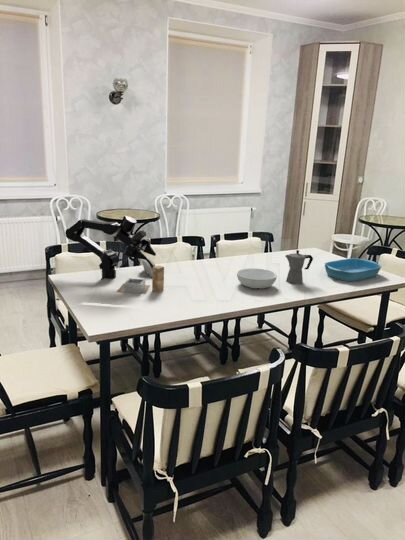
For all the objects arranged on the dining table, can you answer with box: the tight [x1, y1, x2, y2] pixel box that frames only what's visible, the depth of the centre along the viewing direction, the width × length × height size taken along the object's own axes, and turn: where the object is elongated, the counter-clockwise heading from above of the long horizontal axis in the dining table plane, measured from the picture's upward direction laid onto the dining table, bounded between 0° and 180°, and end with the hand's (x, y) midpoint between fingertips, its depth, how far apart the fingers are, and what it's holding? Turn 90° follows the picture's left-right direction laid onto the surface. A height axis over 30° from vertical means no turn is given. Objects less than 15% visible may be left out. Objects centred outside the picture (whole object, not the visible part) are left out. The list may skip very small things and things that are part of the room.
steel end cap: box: [123, 278, 146, 295], centre depth 215 cm, size 8×8×4 cm
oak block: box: [151, 265, 165, 293], centre depth 215 cm, size 4×4×13 cm
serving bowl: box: [236, 267, 278, 289], centre depth 234 cm, size 21×21×7 cm
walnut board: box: [116, 283, 151, 295], centre depth 218 cm, size 14×13×1 cm
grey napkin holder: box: [140, 257, 156, 278], centre depth 245 cm, size 17×5×10 cm, turn 23°
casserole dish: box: [324, 257, 382, 282], centre depth 262 cm, size 37×22×7 cm, turn 124°
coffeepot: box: [285, 249, 314, 285], centre depth 243 cm, size 15×9×18 cm, turn 92°
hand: (151, 257), depth 221 cm, fingers open, 9 cm apart
